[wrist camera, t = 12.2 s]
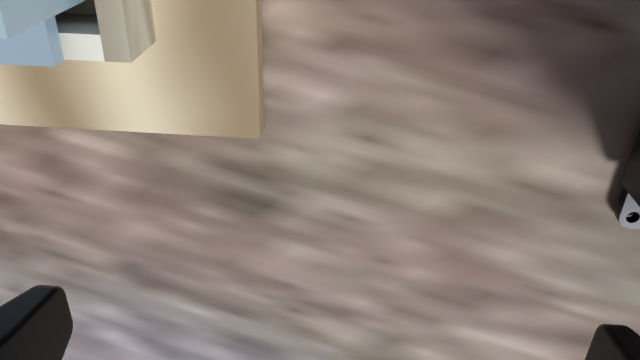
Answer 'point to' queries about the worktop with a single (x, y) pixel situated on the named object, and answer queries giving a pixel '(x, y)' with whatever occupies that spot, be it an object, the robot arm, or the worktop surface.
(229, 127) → the chassis pocket
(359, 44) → the worktop surface
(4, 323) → the robot arm
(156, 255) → the worktop surface
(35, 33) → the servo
